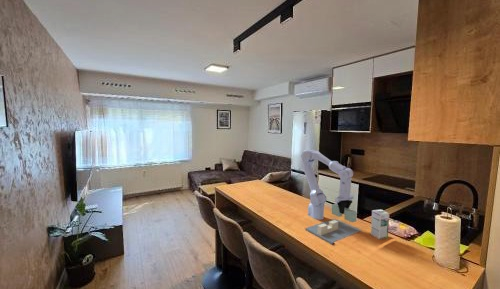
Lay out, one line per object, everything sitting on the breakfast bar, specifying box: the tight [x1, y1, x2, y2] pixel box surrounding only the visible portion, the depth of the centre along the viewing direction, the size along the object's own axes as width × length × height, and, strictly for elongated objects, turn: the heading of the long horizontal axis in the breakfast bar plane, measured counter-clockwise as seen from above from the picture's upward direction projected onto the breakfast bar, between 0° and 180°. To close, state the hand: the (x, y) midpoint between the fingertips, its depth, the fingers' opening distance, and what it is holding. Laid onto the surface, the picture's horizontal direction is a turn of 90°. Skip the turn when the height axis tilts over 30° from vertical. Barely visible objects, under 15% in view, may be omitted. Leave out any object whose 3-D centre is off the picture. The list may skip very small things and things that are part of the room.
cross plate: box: [331, 203, 358, 223], centre depth 131 cm, size 14×3×6 cm, turn 32°
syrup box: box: [370, 209, 390, 240], centre depth 120 cm, size 6×6×14 cm
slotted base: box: [304, 218, 363, 245], centre depth 127 cm, size 18×26×6 cm
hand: (343, 212), depth 131 cm, fingers closed on cross plate, 3 cm apart
